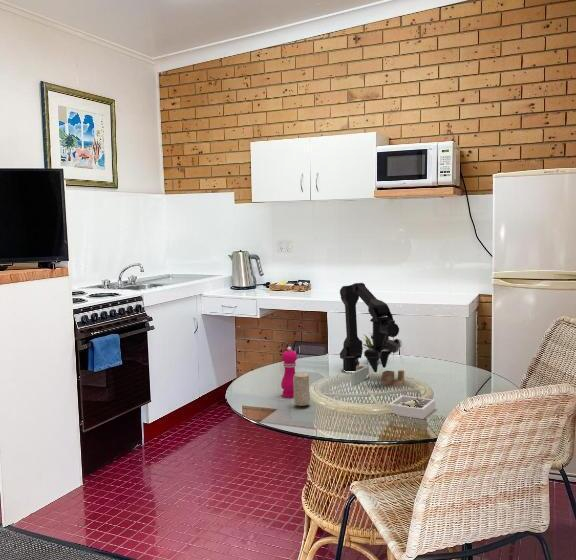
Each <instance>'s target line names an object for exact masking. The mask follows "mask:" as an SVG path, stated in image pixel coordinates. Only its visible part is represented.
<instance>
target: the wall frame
mask: <svg viewBox="0 0 576 560" xmlns="http://www.w3.org/2000/svg"><path fill="white" fill-rule="evenodd" d="M364 367H366V366H364V365H359V366H356V371H357V370H359V369H362V368H364ZM397 380H401V381H404V382H405V370H401V369H399V370H398V371H397Z"/></svg>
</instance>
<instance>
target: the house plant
mask: <svg viewBox="0 0 576 560" xmlns="http://www.w3.org/2000/svg"><path fill="white" fill-rule="evenodd" d="M362 334H363V333H362ZM369 334H370V337H371V336H373V332H371V333H369ZM363 336H364V337H365V338H364V337H362V339H363V340H364V341H365V343H362V347H363V349H365V350H367V349H369V348H371V346H372V345H373V339H371V338H369V337H368V336H367V335H366V334H363ZM371 340H372V342H371ZM371 349H374V348H371ZM366 362H367V364H368V363H369V361H368V359H367V358H366ZM378 363H380V359H379V360H378ZM369 364H370V363H369Z"/></svg>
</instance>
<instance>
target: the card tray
mask: <svg viewBox="0 0 576 560" xmlns="http://www.w3.org/2000/svg"><path fill="white" fill-rule="evenodd" d="M414 399H417V396H411V395H410V396H409V395H403V394H402V395H400V396H398V397H397V398H395V399H394V400H393V401H391V402H390V403H388V406H387V407H388V408H390V409H392V410H393V411H394V413H395V414H396V415H395V414H394V415H395V416H400V417H406V418H412V419H420V420H424V419H426V418H427V417H428V416H429V415H430V414H431V413H432V412H434V411H435V410H436V399H430V398H424V397H422V400H424V401H425V403H426V405H425V406H424V407H423V406H422V408H416V407H409V406H407V405H396V404H398V403H400V402H407V401H411V400H414ZM418 399H419V400H420V397H418ZM423 403H424V402H423Z"/></svg>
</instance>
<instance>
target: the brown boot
mask: <svg viewBox="0 0 576 560" xmlns="http://www.w3.org/2000/svg"><path fill="white" fill-rule="evenodd" d="M381 385H382V386H389V387H397V388H401V387H402V386H403V385H405V380H404V381H401V380H398V379H395V371H393V370H384V371H383V372H381Z"/></svg>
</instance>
